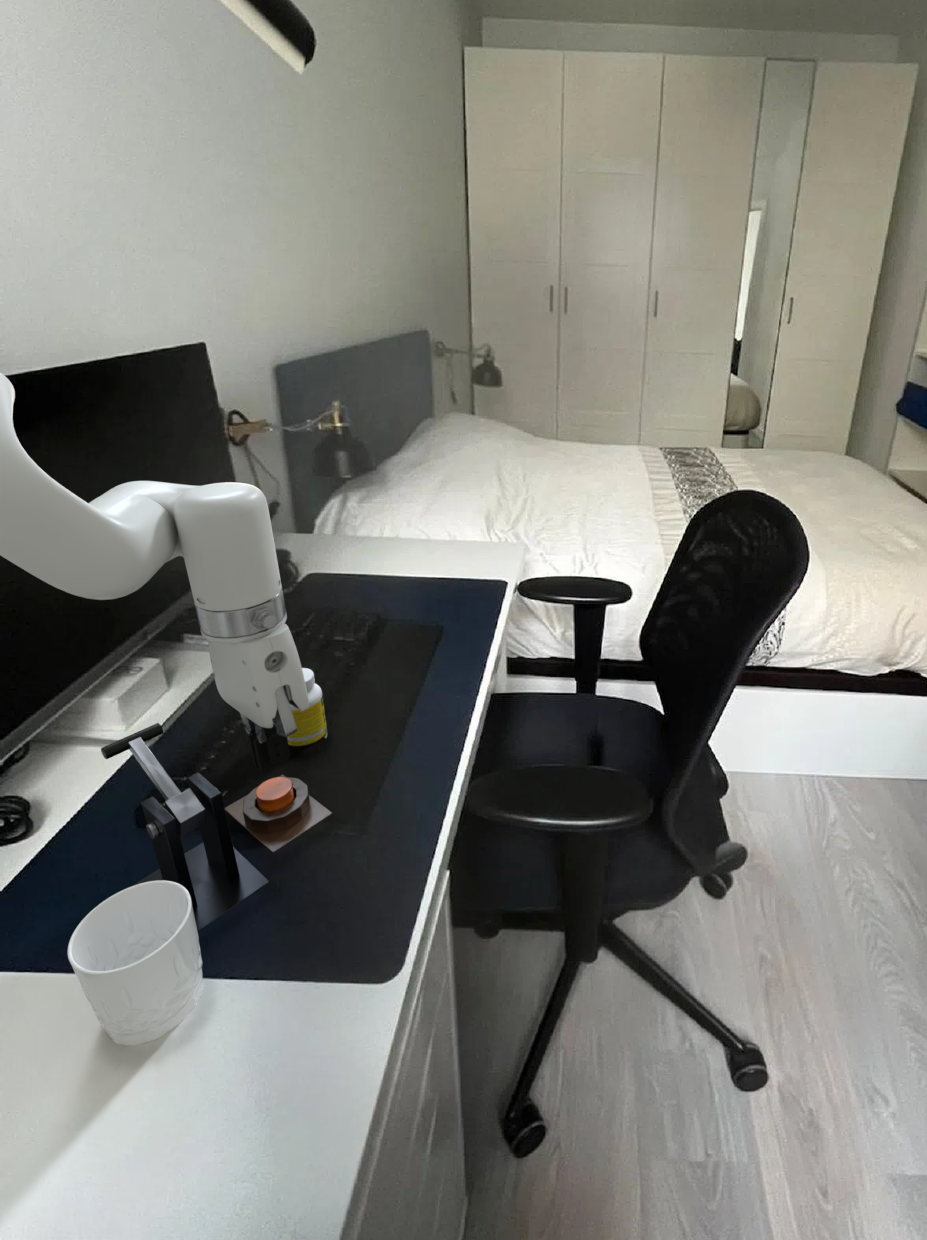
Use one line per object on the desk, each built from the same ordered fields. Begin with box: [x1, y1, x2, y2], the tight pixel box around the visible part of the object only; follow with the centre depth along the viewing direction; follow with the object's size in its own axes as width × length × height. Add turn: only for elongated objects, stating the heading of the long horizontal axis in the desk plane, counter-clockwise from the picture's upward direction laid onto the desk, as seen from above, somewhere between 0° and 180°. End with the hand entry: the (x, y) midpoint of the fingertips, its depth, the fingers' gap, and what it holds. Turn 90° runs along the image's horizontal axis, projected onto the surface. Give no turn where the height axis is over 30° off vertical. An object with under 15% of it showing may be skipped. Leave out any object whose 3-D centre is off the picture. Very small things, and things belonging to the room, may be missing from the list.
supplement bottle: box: [287, 667, 328, 747], centre depth 83 cm, size 5×5×10 cm
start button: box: [256, 776, 294, 813], centre depth 71 cm, size 4×4×2 cm
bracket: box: [135, 772, 271, 933], centre depth 62 cm, size 10×8×12 cm
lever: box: [100, 722, 205, 838], centre depth 62 cm, size 12×5×2 cm, turn 54°
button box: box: [224, 774, 333, 854], centre depth 72 cm, size 10×7×3 cm
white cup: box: [67, 880, 205, 1047], centre depth 52 cm, size 8×8×10 cm
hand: (272, 762), depth 70 cm, fingers closed
